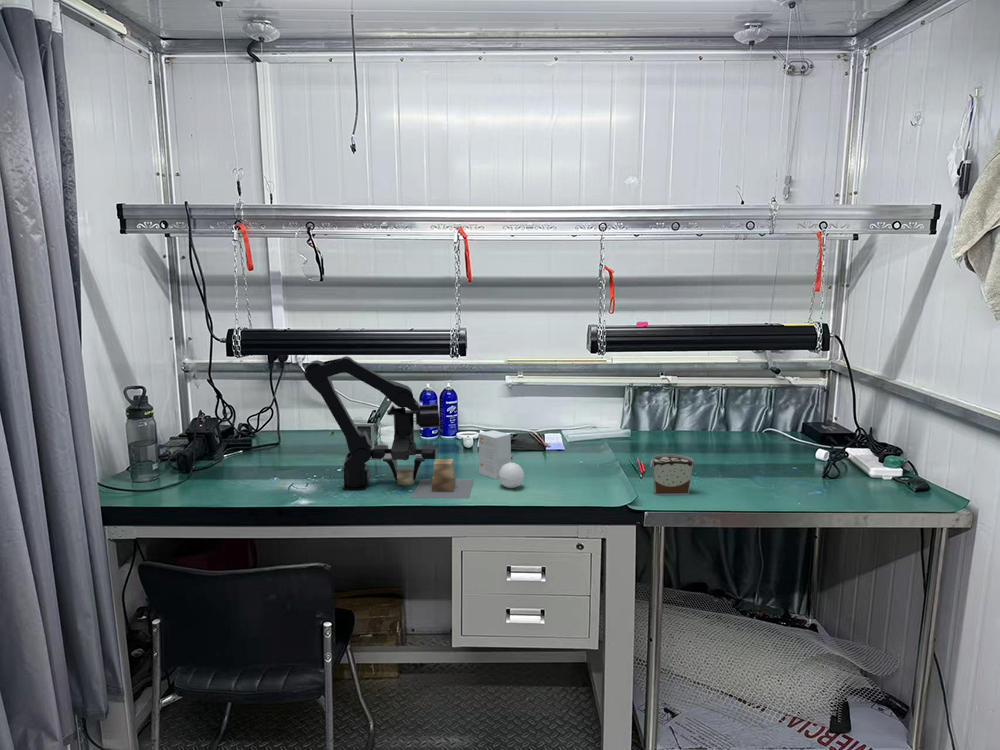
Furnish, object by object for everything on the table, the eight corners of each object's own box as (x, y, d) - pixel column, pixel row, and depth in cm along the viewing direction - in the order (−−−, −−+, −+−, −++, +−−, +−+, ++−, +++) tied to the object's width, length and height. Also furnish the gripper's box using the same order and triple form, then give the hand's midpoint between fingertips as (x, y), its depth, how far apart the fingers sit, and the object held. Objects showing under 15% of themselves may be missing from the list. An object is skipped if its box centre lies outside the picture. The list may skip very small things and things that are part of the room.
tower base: (432, 491, 179) (431, 478, 178) (435, 484, 185) (434, 471, 184) (453, 491, 178) (452, 478, 178) (455, 485, 184) (455, 471, 184)
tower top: (433, 477, 179) (433, 463, 178) (436, 472, 184) (435, 458, 183) (451, 477, 178) (451, 464, 178) (453, 472, 183) (453, 458, 183)
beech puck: (395, 486, 185) (395, 473, 184) (399, 480, 190) (398, 468, 189) (412, 486, 184) (412, 473, 184) (415, 481, 189) (415, 468, 189)
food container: (687, 487, 182) (688, 453, 181) (694, 494, 176) (695, 459, 175) (644, 487, 182) (645, 453, 180) (650, 494, 176) (651, 460, 174)
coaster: (411, 498, 174) (411, 497, 174) (420, 480, 190) (420, 479, 190) (469, 499, 173) (469, 498, 173) (474, 480, 189) (474, 479, 189)
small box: (511, 475, 194) (511, 434, 192) (496, 480, 190) (496, 437, 188) (493, 469, 200) (493, 429, 198) (478, 474, 196) (477, 433, 194)
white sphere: (523, 483, 186) (523, 459, 185) (524, 491, 179) (524, 466, 178) (489, 483, 187) (489, 459, 185) (489, 491, 179) (488, 466, 178)
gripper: (365, 435, 177) (367, 489, 179) (431, 435, 176) (433, 489, 179) (374, 426, 188) (376, 476, 190) (437, 426, 187) (438, 477, 190)
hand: (405, 480), depth 187 cm, fingers closed on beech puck, 5 cm apart
